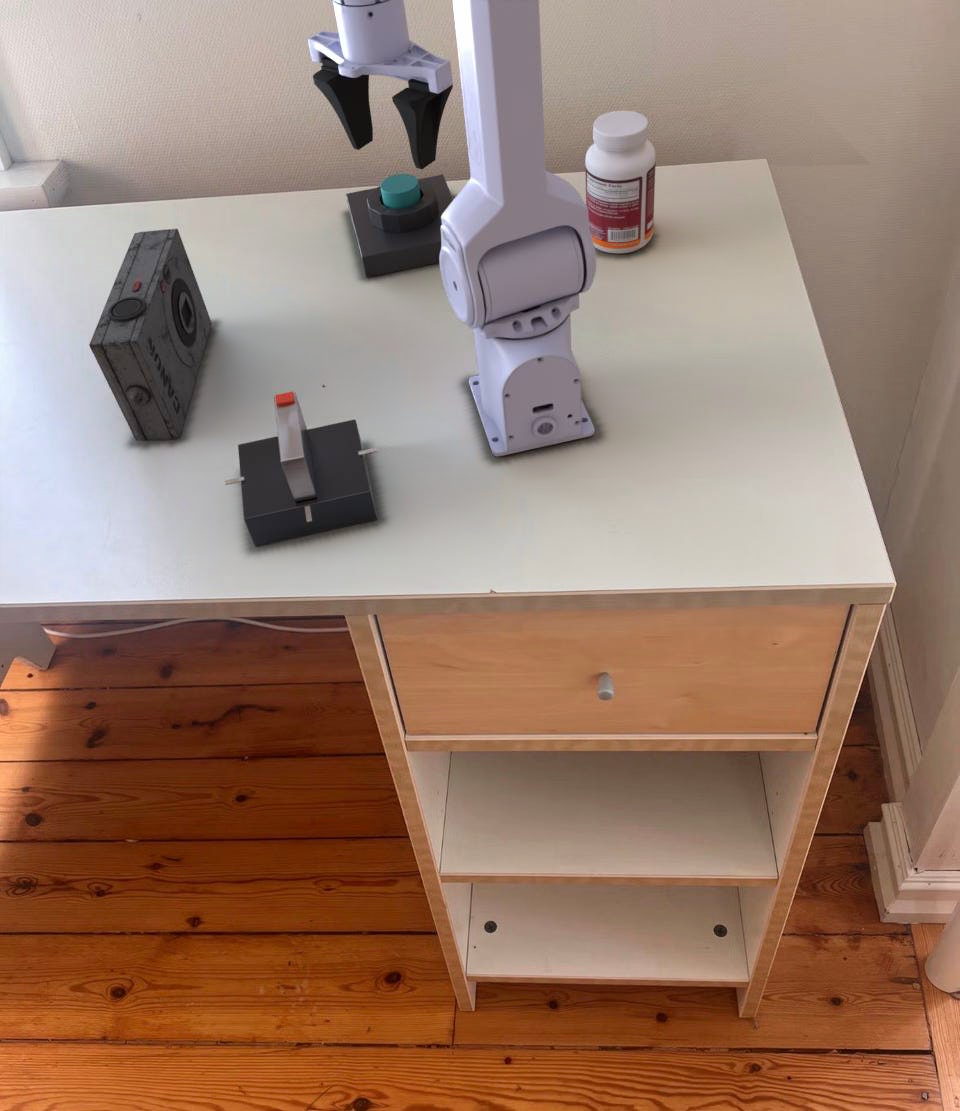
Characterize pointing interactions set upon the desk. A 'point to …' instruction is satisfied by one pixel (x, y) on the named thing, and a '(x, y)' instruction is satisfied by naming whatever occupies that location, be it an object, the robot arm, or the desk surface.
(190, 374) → the camera
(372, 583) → the desk surface
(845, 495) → the desk surface
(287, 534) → the tap deck
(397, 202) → the button
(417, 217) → the control block
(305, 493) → the red-tipped silver slab
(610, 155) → the pill bottle
